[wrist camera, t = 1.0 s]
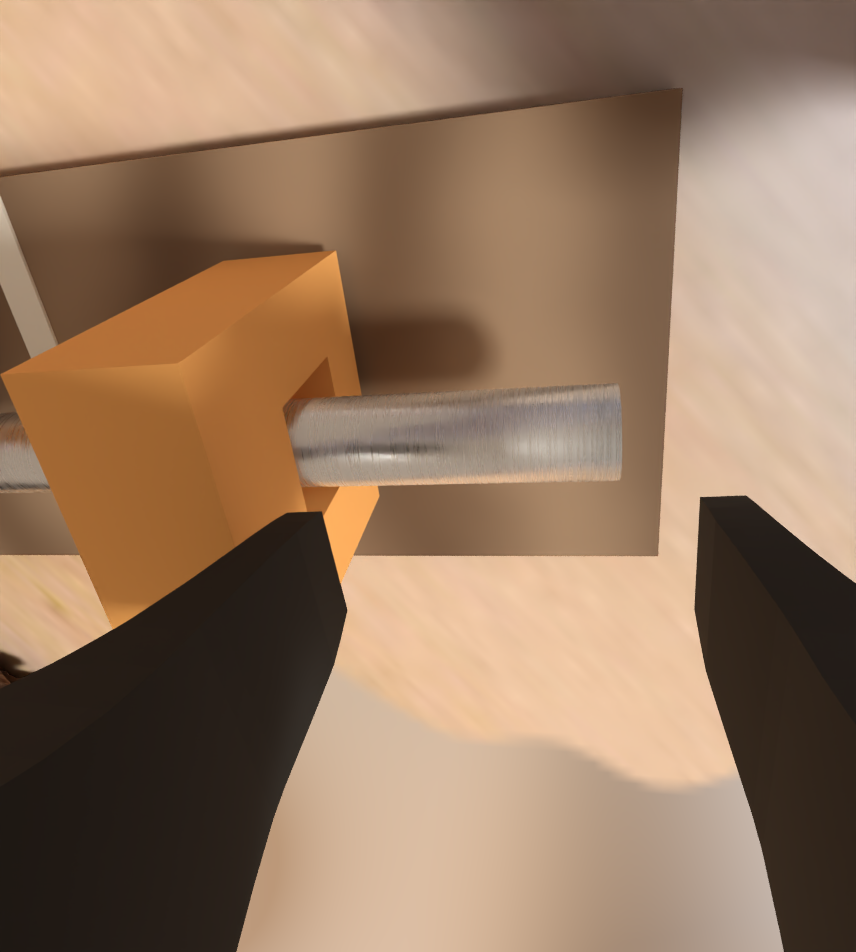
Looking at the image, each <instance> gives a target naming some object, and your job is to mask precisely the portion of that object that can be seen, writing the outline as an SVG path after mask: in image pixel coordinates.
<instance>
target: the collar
mask: <svg viewBox="0 0 856 952" xmlns="http://www.w3.org/2000/svg"><path fill="white" fill-rule="evenodd" d="M0 375H1V377H2V380H3V382H4V384H5V386H6V389H7V391H8V393H9V396H10V398H11V400H12V402H13V405H14V407H15V409H16V411H17V414H18V416H19V418H20V420H21V423H22V425H23V427H24V429H25V432H26V434H27V436H28V438H29V441H30V443H31V445H32V448H33V450H34V452H35V454H36V457H37V459H38V461H39V463H40V466H41V468H42V470H43V472H44V475H45V477H46V479H47V481H48V484H49V486H50V488H51V490H52V493H53V495H54V497H55V500H56V502H57V504H58V506H59V509H60V511H61V513H62V515H63V518H64V520H65V522H66V524H67V527H68V529H69V531H70V533H71V536H72V538H73V540H74V542H75V545H76V547H77V549H78V552H79V554H80V556H81V558H82V561H83V563H84V565H85V567H86V570H87V572H88V574H89V576H90V579H91V581H92V583H93V585H94V588H95V590H96V592H97V594H98V597H99V599H100V601H101V604H102V606H103V608H104V610H105V613H106V615H107V617H108V619H109V622H110V624H111V626H112V628H113V629H115V628H116V627H118V626H120V625H121V624H123V623H125V622H126V621H128V620H129V619H131V618H133V617H134V616H136V615H137V614H139V613H140V612H142V611H143V610H145V609H146V608H148V607H149V606H151V605H152V604H154V603H155V602H157V601H158V600H160V599H161V598H163V597H164V596H166V595H168V594H169V593H171V592H172V591H174V590H175V589H177V588H178V587H180V586H181V585H183V584H184V583H186V582H187V581H189V580H190V579H191V578H193V577H194V576H196V575H197V574H198V573H200V572H201V571H203V570H204V569H205V568H207V567H208V566H210V565H211V564H212V563H214V562H215V561H217V560H218V559H219V558H221V557H222V556H224V555H225V554H226V553H228V552H229V551H231V550H232V549H233V548H235V547H236V546H238V545H239V544H240V543H242V542H243V541H245V540H246V539H247V538H249V537H250V536H252V535H253V534H254V533H256V532H257V531H259V530H260V529H262V528H263V527H264V526H266V525H267V524H269V523H270V522H272V521H274V520H275V519H277V518H278V517H280V516H282V515H284V514H285V513H288V512H315V511H322V514H323V518H324V521H325V525H326V529H327V533H328V537H329V541H330V545H331V549H332V553H333V556H334V560H335V564H336V568H337V572H338V576H339V580H340V584H341V582H342V579H343V577H344V575H345V573H346V570H347V568H348V566H349V564H350V561H351V559H352V557H353V555H354V552H355V550H356V548H357V546H358V543H359V541H360V539H361V537H362V534H363V532H364V530H365V528H366V525H367V523H368V521H369V519H370V516H371V514H372V512H373V510H374V507H375V505H376V503H377V501H378V498H379V490H378V486H337V487H301V484H300V480H299V475H298V471H297V467H296V463H295V459H294V454H293V450H292V446H291V442H290V438H289V433H288V429H287V425H286V421H285V417H284V413H283V406H284V405H285V404H286V403H287V402H288V401H289V400H290V399H298V398H319V397H340V396H360V395H362V394H361V389H360V383H359V377H358V372H357V366H356V360H355V355H354V349H353V343H352V338H351V332H350V326H349V321H348V315H347V309H346V304H345V298H344V292H343V287H342V281H341V275H340V270H339V264H338V258H337V253H336V250H333V251H323V252H312V253H301V254H291V255H280V256H270V257H259V258H248V259H238V260H227V261H222V262H220V263H218V264H216V265H214V266H212V267H210V268H208V269H206V270H204V271H202V272H200V273H199V274H197V275H195V276H193V277H191V278H189V279H187V280H185V281H183V282H181V283H179V284H177V285H175V286H173V287H171V288H169V289H167V290H165V291H163V292H161V293H159V294H157V295H155V296H153V297H151V298H149V299H147V300H145V301H143V302H141V303H140V304H138V305H136V306H134V307H132V308H130V309H128V310H126V311H124V312H122V313H120V314H118V315H116V316H114V317H112V318H110V319H108V320H106V321H104V322H102V323H100V324H98V325H96V326H94V327H92V328H90V329H88V330H86V331H84V332H83V333H81V334H79V335H77V336H75V337H73V338H71V339H69V340H67V341H65V342H63V343H61V344H59V345H57V346H55V347H53V348H51V349H49V350H47V351H45V352H43V353H41V354H39V355H37V356H35V357H33V358H31V359H29V360H27V361H25V362H24V363H22V364H20V365H18V366H16V367H14V368H12V369H10V370H8V371H6V372H4V373H2V374H0Z"/></svg>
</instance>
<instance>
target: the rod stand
mask: <svg viewBox="0 0 856 952" xmlns="http://www.w3.org/2000/svg"><path fill="white" fill-rule="evenodd" d="M682 91H683V88H676V89H668V90H660V91H653V92H645V93H637V94H630V95H622V96H614V97H607V98H599V99H592V100H584V101H576V102H569V103H561V104H553V105H546V106H538V107H530V108H523V109H515V110H508V111H500V112H492V113H485V114H477V115H469V116H462V117H454V118H446V119H439V120H431V121H424V122H416V123H408V124H401V125H393V126H385V127H378V128H370V129H362V130H355V131H347V132H340V133H332V134H324V135H317V136H309V137H301V138H294V139H286V140H278V141H271V142H263V143H256V144H248V145H240V146H233V147H225V148H217V149H210V150H202V151H194V152H187V153H179V154H172V155H164V156H156V157H149V158H141V159H133V160H126V161H118V162H110V163H103V164H95V165H88V166H80V167H72V168H65V169H57V170H49V171H42V172H34V173H26V174H19V175H11V176H4V177H0V374H2V373H4V372H6V371H8V370H10V369H12V368H14V367H16V366H18V365H20V364H22V363H24V362H25V361H27V360H29V359H31V358H33V357H35V356H37V355H39V354H41V353H43V352H45V351H47V350H49V349H51V348H53V347H55V346H57V345H59V344H61V343H63V342H65V341H67V340H69V339H71V338H73V337H75V336H77V335H79V334H81V333H83V332H84V331H86V330H88V329H90V328H92V327H94V326H96V325H98V324H100V323H102V322H104V321H106V320H108V319H110V318H112V317H114V316H116V315H118V314H120V313H122V312H124V311H126V310H128V309H130V308H132V307H134V306H136V305H138V304H140V303H141V302H143V301H145V300H147V299H149V298H151V297H153V296H155V295H157V294H159V293H161V292H163V291H165V290H167V289H169V288H171V287H173V286H175V285H177V284H179V283H181V282H183V281H185V280H187V279H189V278H191V277H193V276H195V275H197V274H199V273H200V272H202V271H204V270H206V269H208V268H210V267H212V266H214V265H216V264H218V263H220V262H222V261H227V260H238V259H248V258H259V257H270V256H280V255H291V254H301V253H312V252H323V251H333V250H336V253H337V258H338V264H339V270H340V275H341V281H342V287H343V292H344V298H345V304H346V309H347V315H348V321H349V326H350V332H351V338H352V343H353V349H354V355H355V360H356V366H357V372H358V377H359V383H360V389H361V394H362V395H360V396H340V397H319V398H298V399H290V400H289V401H288V402H287V403H286V404H285V405H284V406H283V413H284V417H285V421H286V425H287V429H288V433H289V438H290V442H291V446H292V450H293V454H294V459H295V463H296V467H297V471H298V475H299V480H300V484H301V487H337V486H378V490H379V498H378V501H377V503H376V505H375V507H374V510H373V512H372V514H371V516H370V519H369V521H368V523H367V525H366V528H365V530H364V532H363V534H362V537H361V539H360V541H359V543H358V546H357V548H356V550H355V552H354V555H362V556H658V544H659V525H660V506H661V487H662V469H663V450H664V431H665V412H666V393H667V374H668V355H669V336H670V317H671V298H672V280H673V261H674V242H675V223H676V204H677V185H678V166H679V147H680V128H681V109H682ZM0 555H80V554H79V552H78V549H77V547H76V545H75V542H74V540H73V538H72V536H71V533H70V531H69V529H68V527H67V524H66V522H65V520H64V518H63V515H62V513H61V511H60V509H59V506H58V504H57V502H56V500H55V497H54V495H53V493H52V490H51V488H50V486H49V484H48V481H47V479H46V477H45V475H44V472H43V470H42V468H41V466H40V463H39V461H38V459H37V457H36V454H35V452H34V450H33V448H32V445H31V443H30V441H29V438H28V436H27V434H26V432H25V429H24V427H23V425H22V423H21V420H20V418H19V416H18V414H17V411H16V409H15V407H14V405H13V402H12V400H11V398H10V396H9V393H8V391H7V389H6V386H5V384H4V382H3V380H2V377H1V375H0Z"/></svg>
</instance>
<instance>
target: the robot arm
mask: <svg viewBox="0 0 856 952" xmlns="http://www.w3.org/2000/svg"><path fill="white" fill-rule="evenodd" d="M346 614H347V607H346V603H345V599H344V595H343V591H342V587H341V584H340V580H339V576H338V572H337V568H336V564H335V560H334V556H333V553H332V549H331V545H330V541H329V537H328V533H327V529H326V525H325V521H324V518H323V514H322V511H315V512H288V513H285V514H284V515H282V516H280V517H278V518H277V519H275V520H274V521H272V522H270V523H269V524H267V525H266V526H264V527H263V528H262V529H260V530H259V531H257V532H256V533H254V534H253V535H252V536H250V537H249V538H247V539H246V540H245V541H243V542H242V543H240V544H239V545H238V546H236V547H235V548H233V549H232V550H231V551H229V552H228V553H226V554H225V555H224V556H222V557H221V558H219V559H218V560H217V561H215V562H214V563H212V564H211V565H210V566H208V567H207V568H205V569H204V570H203V571H201V572H200V573H198V574H197V575H196V576H194V577H193V578H191V579H190V580H189V581H187V582H186V583H184V584H183V585H181V586H180V587H178V588H177V589H175V590H174V591H172V592H171V593H169V594H168V595H166V596H164V597H163V598H161V599H160V600H158V601H157V602H155V603H154V604H152V605H151V606H149V607H148V608H146V609H145V610H143V611H142V612H140V613H139V614H137V615H136V616H134V617H133V618H131V619H129V620H128V621H126V622H125V623H123V624H121V625H120V626H118V627H116V628H115V629H113V630H111V631H110V632H108V633H106V634H105V635H103V636H101V637H99V638H98V639H96V640H94V641H92V642H90V643H89V644H87V645H85V646H83V647H81V648H80V649H78V650H76V651H74V652H72V653H71V654H69V655H67V656H65V657H63V658H61V659H60V660H58V661H56V662H54V663H52V664H50V665H48V666H46V667H44V668H42V669H40V670H38V671H36V672H33V673H31V674H29V675H27V676H25V677H23V678H21V679H19V680H17V681H15V682H13V683H11V684H9V685H7V686H4V687H2V688H0V952H236V951H237V947H238V943H239V939H240V936H241V932H242V928H243V925H244V921H245V917H246V913H247V909H248V906H249V902H250V898H251V894H252V891H253V887H254V883H255V880H256V876H257V873H258V869H259V866H260V863H261V859H262V856H263V852H264V849H265V845H266V842H267V839H268V835H269V832H270V828H271V825H272V822H273V818H274V815H275V813H276V810H277V807H278V804H279V801H280V799H281V796H282V793H283V790H284V788H285V785H286V783H287V780H288V778H289V775H290V773H291V770H292V768H293V765H294V763H295V761H296V758H297V756H298V753H299V750H300V748H301V746H302V743H303V741H304V738H305V736H306V733H307V731H308V729H309V726H310V724H311V721H312V719H313V716H314V714H315V711H316V709H317V706H318V704H319V701H320V699H321V696H322V694H323V691H324V689H325V686H326V684H327V681H328V679H329V676H330V674H331V671H332V668H333V666H334V662H335V659H336V655H337V651H338V647H339V644H340V640H341V635H342V631H343V627H344V622H345V618H346ZM695 615H696V620H697V626H698V632H699V637H700V643H701V648H702V653H703V658H704V663H705V669H706V672H707V676H708V679H709V682H710V685H711V688H712V692H713V695H714V698H715V701H716V704H717V707H718V710H719V714H720V717H721V720H722V723H723V726H724V729H725V732H726V735H727V738H728V741H729V745H730V748H731V751H732V754H733V757H734V760H735V763H736V766H737V769H738V772H739V775H740V778H741V782H742V785H743V788H744V791H745V794H746V797H747V800H748V803H749V806H750V809H751V812H752V816H753V819H754V823H755V826H756V830H757V833H758V837H759V841H760V844H761V848H762V852H763V856H764V860H765V865H766V870H767V874H768V879H769V883H770V888H771V893H772V897H773V902H774V907H775V911H776V916H777V921H778V925H779V929H780V934H781V939H782V944H783V949H784V952H856V583H854V582H853V581H852V580H850V579H849V578H848V577H846V576H845V575H844V574H842V573H841V572H840V571H838V570H837V569H836V568H834V567H833V566H832V565H831V564H829V563H828V562H827V561H825V560H824V559H823V558H822V557H820V556H819V555H818V554H817V553H815V552H814V551H813V550H812V549H810V548H809V547H808V546H807V545H805V544H804V543H803V542H802V541H800V540H799V539H798V538H797V537H796V536H794V535H793V534H792V533H791V532H789V531H788V530H787V529H786V528H785V527H783V526H782V525H781V524H780V523H779V522H777V521H776V520H775V519H774V518H773V517H771V516H770V515H769V514H768V513H767V512H766V511H764V510H763V509H762V508H761V507H760V506H758V505H757V504H756V503H755V502H754V501H752V500H751V499H750V498H748V497H747V496H721V497H700V511H699V531H698V550H697V570H696V589H695Z"/></svg>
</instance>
